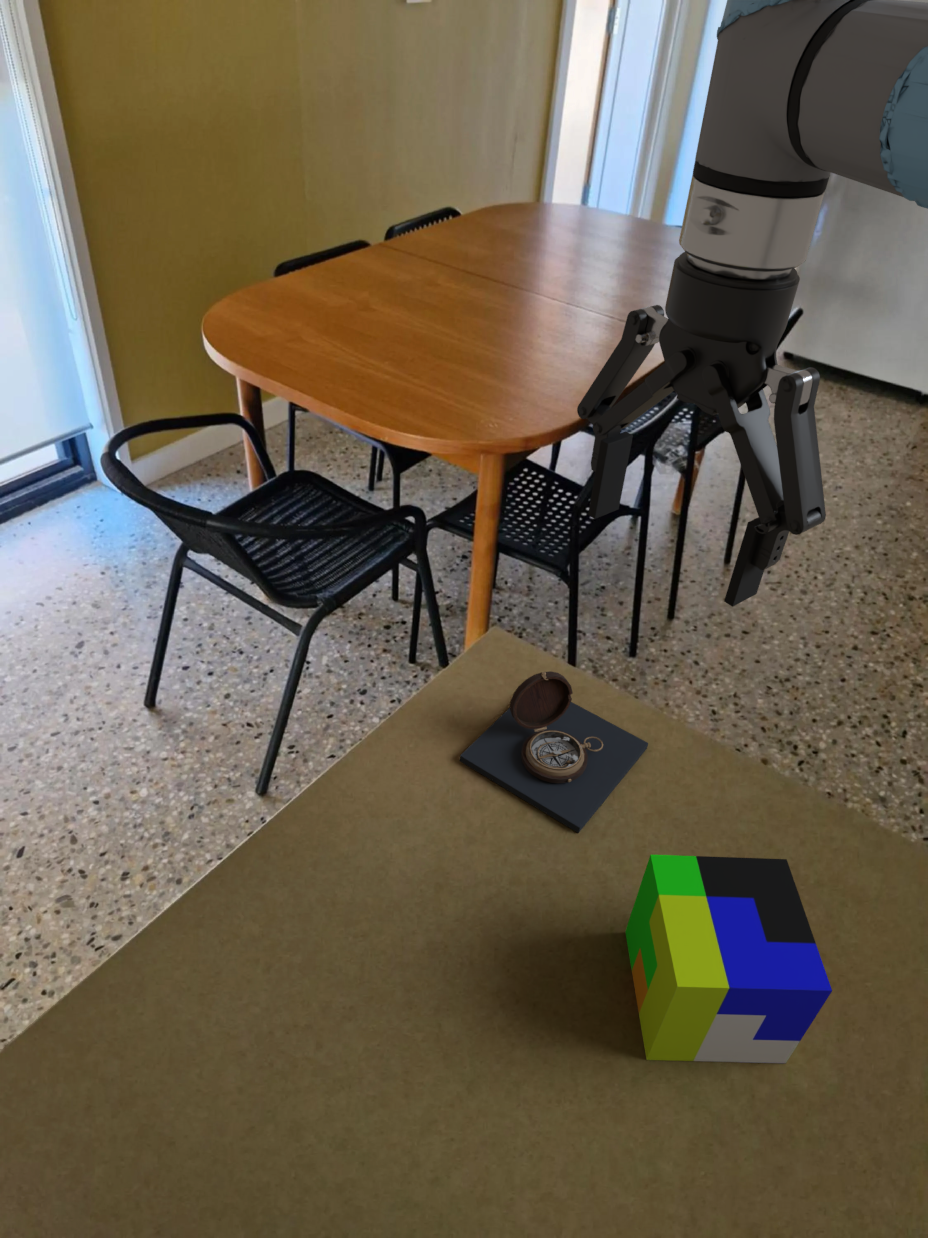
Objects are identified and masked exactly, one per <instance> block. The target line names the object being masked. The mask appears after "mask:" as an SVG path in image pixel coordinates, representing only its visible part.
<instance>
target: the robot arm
mask: <svg viewBox="0 0 928 1238" xmlns="http://www.w3.org/2000/svg"><path fill="white" fill-rule="evenodd" d="M716 40H717V41H716V48H715V53H714V59H713V63H712V68H711V74H710V80H709V85H708V90H707V95H706V100H705V104H704V110H703V111H704V112H703V116H702V122H701V127H700V132H699V137H698V142H697V148H696V152H695V158H694V165H693V169H692V176H691V180H690V184H689V190H688V195H687V199H686V205H685V208H684V213H683V220H682V224H681V229H680V235H679V238H678V243H679V246H680V247H681V248H682V250H683V251H684V252H682V253H680V254H679V255H678V256H677V257H676V258H675V259H674V262H673V266H672V271H671V277H670V281H669V285H668V291H667V296H666V300H665V301H666V302H665V306H664V308H663V307H662V306H661V305H660V304H655V305H650V306H646V307H642V308H638V309H634V310H631V311H629V312H628V314H627V317H626V320H625V324H624V328H623V331H622V335H621V339H620V340H619V342H618V344H617V345H616V347H615V348H614V350H613V351H612V353H610V356H609V357H608V359H607V361H606V362H605V363H604V365H603V367H602V368H601V370H600V371H599V373H598V374H597V376H596V377H595V378H594V380H593V382H592V383H591V385H590V387H588V390H587V391H586V392H585V394H584V396H583V397H582V399H581V400H580V401H579V403H578V405H577V408H576V412H577V416H578V417H579V418H580V419H582V420H588V421H589V422H590V424H591V425H592V432H593V433H594V442H593V447H592V452H591V459H590V468H591V471H593V472H594V478H593V483H592V488H591V496H590V502H589V508H588V512H587V515H588V516H589V517H591V518H592V519H594V520H596V519H599V518H602V517H603V516H606V515H608V514H610V513H611V514H612V513H613V512H616V511H618V510H620V504H621V500H622V499H621V498H622V494H623V489H624V484H625V478H626V474H627V469H628V464H629V460H630V459H629V458H630V453H631V448H632V443H633V438H634V435H633V434H631V433H629V432H628V431H623V432H621V431H622V430H623V429H626V428H629V427H631V426H632V423H633V422H634V421H636V420H637V419H639V418H640V417H641V416H642V415H644V414H645V413H646V412H648V411H649V410H651V409H652V408H654V406H656V405H657V404H658V403H659V402H661V401H662V400H664V399H665V398H667V397H668V396H669V395H670V394H672V393H673V392H674V393H675V394H676V399H677V400H679V401H681V402H683V403H687V404H693V405H696V407H697V408H699V409H700V410H701V411H702V412H704V413H706V414H707V415H710V416H712V417H713V416H716V415H717V417H718V419H719V421H720V425H721V428H722V429H723V431H724V432H725V433H728V434H729V435H730V437H731V440H732V442H733V447H734V449H735V452H736V454H737V455H736V456H737V458H738V460H739V463H740V467H741V469H742V472H743V476H744V478H745V481H746V484H747V487H748V490H749V493H750V496H751V498H752V501H753V504H754V508H755V511H756V512H757V513H756V514H757V516H758V517H756V518H754V519H752V520H750V521H748V522H747V524H746V527H745V531H744V534H743V537H742V539H741V540H742V541H741V544H740V548H739V551H738V552H737V553H738V554H737V557H736V559H735V564H734V566H733V570H732V573H731V577H730V580H729V584H728V587H727V590H726V593H725V596H724V600H723V602H724V603H725V604H727V605H728V606H730V607H732V608H733V607H735V606H737V605H739V604H740V603H742V602H744V601H746V600H748V599H750V598H752V597H754V596H755V595H757V594H758V590H759V587H760V585H761V582H762V579H763V575H764V572H765V570H767V569H769V568H771V567H773V566H775V565H776V564H777V563H778V562H779V561H780V560H781V558H782V554H783V552H784V549H785V545H786V543H787V540H788V537H789V533H790V534H792V535H795V536H797V535H798V536H799V535H800V534H803V533H805V532H807V531H809V530H811V529H813V528H815V527H817V526H819V525H821V524H823V523H824V522H825V521H826V516H827V514H826V504H825V503H826V502H825V495H824V486H823V485H824V484H823V477H822V467H821V458H820V449H819V439H818V429H817V422H816V421H817V420H816V411H815V404H816V400H817V395H818V390H819V385H820V381H821V375H820V372H819V371H818V370H817V369H816V368H815V367H807V368H804V369H801V370H797V369H793V368H790V367H787V366H782V365H778V359H777V358H778V357H777V347H778V345H779V342H780V340H781V338H782V337H783V334H784V333H785V330H786V328H787V326H788V322H789V318H790V316H791V312H792V309H793V305H794V302H795V298H796V295H797V291H798V287H799V284H800V280H801V278H800V275H799V273H798V270H797V268H799V266H801V265H802V264H803V263H805V262H806V261H807V257H808V253H809V250H810V247H811V243H812V239H813V235H814V232H815V228H816V225H817V221H818V218H819V214H820V210H821V207H822V204H823V199H824V197H825V193H826V190H827V187H828V183H829V179H830V176H831V174H834V175H837V176H840V177H843V178H846V179H849V180H851V181H855V182H858V183H861V184H863V185H866V186H869V187H872V188H875V189H878V190H880V191H884V192H887V193H889V194H892V195H896V196H897V197H898V196H899V197H902V198H904V199H906V200H907V201H909V202H915V204H916V205H917V206H918V207H921V208H923V209H928V2H924V1H913V0H726V2H725V8H724V10H723V15H722V19H721V22H720V26H718V27H717V30H716ZM665 315H666V316H665ZM658 343H659V346H660V350H661V354H662V357H663V360H664V362H663V363H662V364H661V365H660V366H659V367H658V368H656V369H655V370H654V371H653V372H651V373H650V374H649V375H648V376H646V377H645V378H644V381H643V382H642V383H641V384H639V385H638V386H637V387H636V388H635V389H633V390H632V391H631V392H630V393H628V394H627V395H626V396H624V397H623V398H622V399H621V400H619V401H618V402H617V400H618V399H619V398H620V396H621V394H622V393H623V392H624V390H625V389H626V387H627V386H628V385H629V383H630V382H631V380H632V379H633V378H634V376H635V375H636V373H637V372H638V370H639V369H640V367H641V366H642V365H643V363H644V362H645V360H646V359H647V358H648V356H649V354H650V353H651V351H652V350H653V349H654V347H655V345H656V344H658ZM766 387H769V389H770V392H771V394H769V397H768V400H769V402H770V403H771V404H774V407H773V423H774V424H773V425H774V433H775V437H774V433H773V430H772V426H771V424H770V422H769V418H770V416H771V408H770V406H769V403H768V400H767V397H766V394H765V391H764V389H765V388H766ZM616 402H617V403H616ZM744 405H746V408H747V412H745V413H741V412H740V410H739V409H740V408H741V407H742V406H744Z"/></svg>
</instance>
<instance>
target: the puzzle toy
mask: <svg viewBox="0 0 928 1238" xmlns="http://www.w3.org/2000/svg"><path fill="white" fill-rule="evenodd" d="M801 899H802V898H801V897H800V894H799V891H798V888H797V885H796V882H795V878H794V877H793V874H792V870H791V868H790V865H789V862H788V859H787V858H764V857H763V858H762V857H735V856H734V857H733V856H705V855H680V854H679V855H678V854H677V855H675V854H650V855H649V857H648V861H647V864H646V868H645V870H644V873H643V875H642V879H641V882H640V885H639V888H638V891H637V894H636V897H635V901H634V904H633V906H632V910H631V913H630V916H629V918H628V921H627V925H626V928H625V931H624V933H625V938H626V945H627V950H628V957H629V963H630V969H631V974H632V981H633V986H634V992H635V993H634V994H635V1000H636V1005H637V1011H638V1017H639V1024H640V1029H641V1035H642V1041H643V1047H644V1054H645V1060H646V1061H670V1062H672V1061H673V1062H710V1063H711V1062H712V1063H714V1062H715V1063H751V1064H753V1063H754V1064H758V1063H759V1064H787V1062H788V1061H789V1059H790V1058H791V1056H792V1055H793V1053H794V1052H795V1050H796V1049H797V1047H798V1046H799V1044H800V1042H801V1040H802V1039H803V1038H804V1036H805V1035H806V1032H807V1031H808V1030H809V1028H810V1027H811V1025H812V1024H813V1022H814V1021H815V1019H816V1018H817V1015H818V1014H819V1012H820V1011H821V1009H822V1008H823V1007H824V1005H825V1003H826V1002H827V1000H828V998H829V997H830V995H831V994H832V992H833V989H832V986H831V983H830V979H829V977H828V975H827V971H826V969H825V966H824V962H823V960H822V957H821V954H820V951H819V949H818V946H817V943H816V940H815V937H814V934H813V931H812V928H811V925H810V923H809V920H808V917H807V914H806V911H805V908H804V906H803V902H802V900H801Z"/></svg>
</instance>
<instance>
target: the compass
mask: <svg viewBox="0 0 928 1238" xmlns="http://www.w3.org/2000/svg"><path fill="white" fill-rule="evenodd" d="M572 695H573V688H572V684H570V682H569V681H568V680H567V678H566V677H565V676H564V675H563V674H561V673H559V672H556V671H552V670H551V671H541V672H539V673H536V674H533V675H531V676H529V677H528V678H526V679H525V680H524V681H523V682H521V684H519V685H518V686H517V688H516V689H515V691H514V692H513V694H512V696H511V699H510V702H509V708H510V711H511V714H512V716H513V718H514V719H515V721H516V722H517V723H518V724H519V725H520V726H522V727H524V728H527V729H534V732H536V731H537V732H536V733H534V734H532V735H531V736H529V737H528V738H527V739H526V741H525V742H524V744H523V747H522V753H521V757H522V762H523V764H524V766H525V767H526V769H527V770H528V771H529V772H530V773H531V774H532V775H534V776H535V777H537V778H539V779H541V780H544V781H547V782H550V783H566V782H571V781H573V780H575V779H577V778H578V777H579V776H581V775H582V774H583V772H584V771H585V769H586V766H587V760H588V755H587V751H586V749H588V750H590V751H594V752H595V751H599V750H601V749H602V748H603V743H602V741H601V740H600V739H599V738H597V737H588V738H586V739H585V740H584V744H582V743H581V742H580V741H579V740H578V739H577V738H576V737H574V736H572V735H570V734H568V733H565V732H562V731H559V730H545V729H547V727H546V726H549V725H550V724H552V723H554V722H555V721H557V720H558V719H559V718H560V717H561V716H562V715H563V714H564V713H565V712H566V710H567V709H568V708H569V705H570V703H571V702H572V701H573V698H572ZM589 738H595V739H597V740H599V741H600V742H601V744H602V746H601V748H600V749H598V750H592V749H589V748H590V747H591V744H590V743H589V742H588V743H585V741H586V740H587V739H589Z"/></svg>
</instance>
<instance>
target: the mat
mask: <svg viewBox="0 0 928 1238" xmlns="http://www.w3.org/2000/svg"><path fill="white" fill-rule="evenodd" d="M546 727H547V729H545V730H559V731H562V732H565V733H568V734H570V735H572V736H574V737H576V738H577V739H578V740H579V741H580V742H581V743H582V744H584V740H585V739H586V738H588V737H597V738H599V739H600V740H601V741H602V743H603V748H602V749H601V750H599V751H595V752H594V751H590V750H588V749H586V751H587V755H588V760H587V766H586V769H585V771H584V772H583V774H582V775H581V776H579V777H578V778H577V779H575V780H573V781H571V782H566V783H550V782H547V781H544V780H541V779H539V778H537V777H535V776H534V775H532V774H531V773H530V772H529V771H528V770H527V769H526V767H525V766H524V764H523V762H522V757H521V753H522V747H523V744H524V742H525V741H526V739H527V738H528V737H529V736H531V735H532V734H534V733H536V732H537V731H536V732H534V729H527V728H524V727H522V726H520V725H519V724H518V723H517V722H516V721H515V719H514V718H513V716H512V714H511V711H510V707H509V708H508V709H507V710H505V712H504V713H503V714H501V716H499V717H498V718H497V719H496V720H495V721H494V722H493V723H492V724H491V725H490V726H489V727H488V728H487V729H486V730H485V731H483V732H482V734H481V735H479V736H478V737H477V739H475V740H474V741H473V742H472V743H471V744H470V745H469V746H468V747H467V748H466V749H465V750H464V751H463V752H462V753H461V754H460V755H459V762H460V763H461V764H463V765H465V766H467V767H468V768H470V769H472V770H474V771H475V772H477V773H478V774H480V775H482V776H483V777H485V778H487V779H488V780H489V781H492V782H493V783H495V784H497V786H500V787H501V788H503V789H505V790H506V791H508V792H509V793H511V794H513V795H515V796H516V797H518V798H520V799H521V800H523V801H525V802H526V803H528V804H529V805H530V806H533V807H535V808H536V809H537V810H539V811H541V812H542V813H544V814H546V815H548V816H549V817H551V818H553V819H554V820H555V821H557V822H559V823H560V824H563V826H565V827H567V828H568V829H571V830H572V831H574V832H576V833H577V834H579V833H580V832H581V831H582V830H583V829H584V827H585V826H586V825H587V823H588V822H589V821H590V820H591V818H593V816H594V815H595V813H596V812H597V811H598V810H599V808H600V807H601V806H602V805H603V804H604V802H605V801H606V800H607V799H608V797H609V796H610V795H611V794H612V793H613V791H614V790H615V789H616V788H617V786H618V785H619V784H620V783H621V782H622V780H623V779H624V778H625V776H626V775H627V774H628V773H629V772H630V770H631V769H632V768H633V766H635V764H636V763H637V762H638V760H639V759H640V758H641V757H642V755H643V754H644V753H645V752H646V751H647V749H648V746H649V743H648V742H647V741H645V740H644V739H642V738H640V737H638V736H636V735H634V734H632V733H630V732H629V731H627V730H625V729H623V728H622V727H619V726H618V725H616V724H614V723H612V722H610V721H608V720H606V719H604V718H602V717H600V716H598V715H597V714H595V713H593V712H591V711H589V710H587V709H585V708H584V707H582V706H580V705H578V704H576V703H575V702H572V701H571V703H570V705H569V708H568V709H567V710H566V712H565V713H564V714H563V715H562V716H561V717H560V718H559V719H558V720H557V721H555V722H554V723H552V724H550V725H549V726H546ZM588 742H589V743H590V744H591V747H590V748H589V749H592V750H598V749H600V748H601V746H602V744H601V742H600V741H599V740H597V739H595V738H589V739H587V740H586V741H585V743H588Z"/></svg>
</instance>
